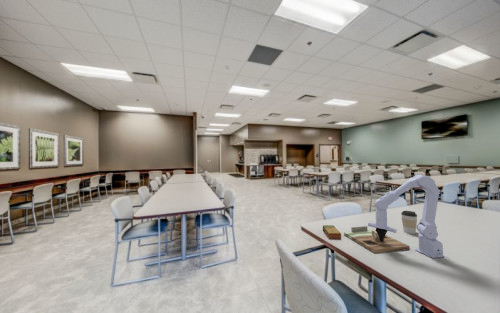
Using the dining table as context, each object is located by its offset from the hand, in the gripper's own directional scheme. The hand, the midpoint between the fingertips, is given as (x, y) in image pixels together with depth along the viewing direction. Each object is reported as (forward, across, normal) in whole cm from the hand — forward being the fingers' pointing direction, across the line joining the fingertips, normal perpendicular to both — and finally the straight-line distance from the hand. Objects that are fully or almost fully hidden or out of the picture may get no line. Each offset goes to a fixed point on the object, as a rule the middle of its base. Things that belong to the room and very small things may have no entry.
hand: (381, 240), depth 114 cm
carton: (+4, +29, +8) cm, 30 cm away
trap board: (+3, +6, -3) cm, 7 cm away
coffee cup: (+3, -4, -41) cm, 41 cm away
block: (+1, +3, -4) cm, 5 cm away
